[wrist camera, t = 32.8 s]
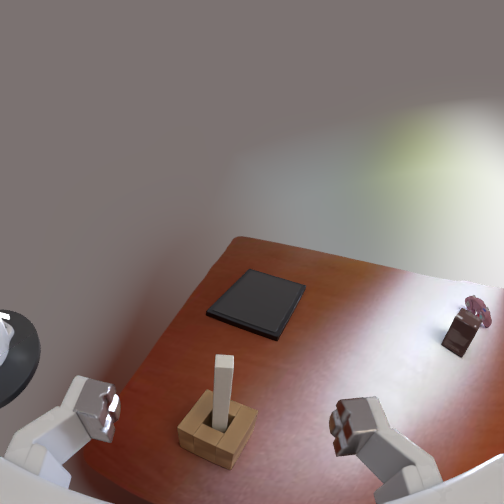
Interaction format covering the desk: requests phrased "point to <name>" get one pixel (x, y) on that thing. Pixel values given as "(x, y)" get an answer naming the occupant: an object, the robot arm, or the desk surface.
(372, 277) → the desk surface
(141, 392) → the desk surface
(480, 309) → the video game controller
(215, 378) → the white square bar
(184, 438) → the pen stand
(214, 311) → the plate
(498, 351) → the desk surface
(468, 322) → the box
